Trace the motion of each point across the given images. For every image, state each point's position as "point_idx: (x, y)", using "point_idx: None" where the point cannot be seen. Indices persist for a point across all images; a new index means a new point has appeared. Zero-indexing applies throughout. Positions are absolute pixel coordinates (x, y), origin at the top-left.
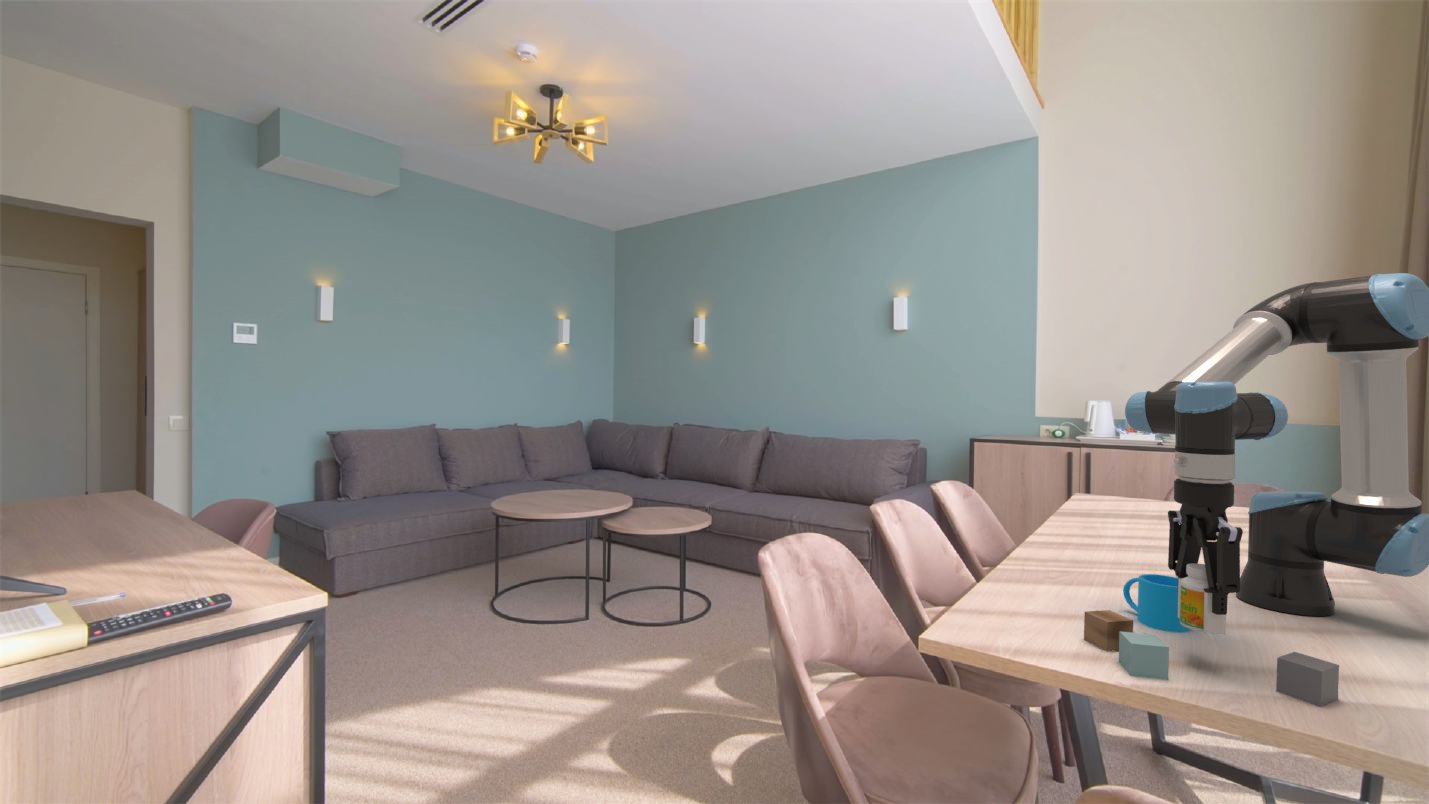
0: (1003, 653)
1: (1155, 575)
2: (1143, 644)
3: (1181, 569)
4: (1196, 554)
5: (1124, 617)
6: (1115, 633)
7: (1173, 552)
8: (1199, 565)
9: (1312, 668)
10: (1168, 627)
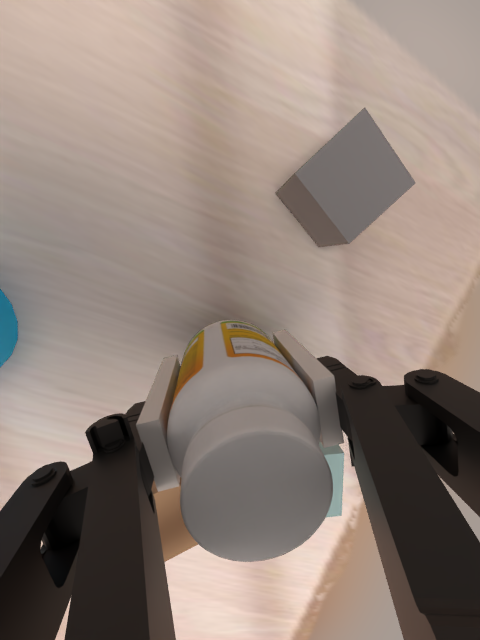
0: (281, 625)
1: None
2: (341, 495)
3: (157, 521)
4: (150, 559)
5: (161, 495)
6: None
7: (53, 636)
8: (228, 505)
9: (400, 194)
10: (11, 333)
